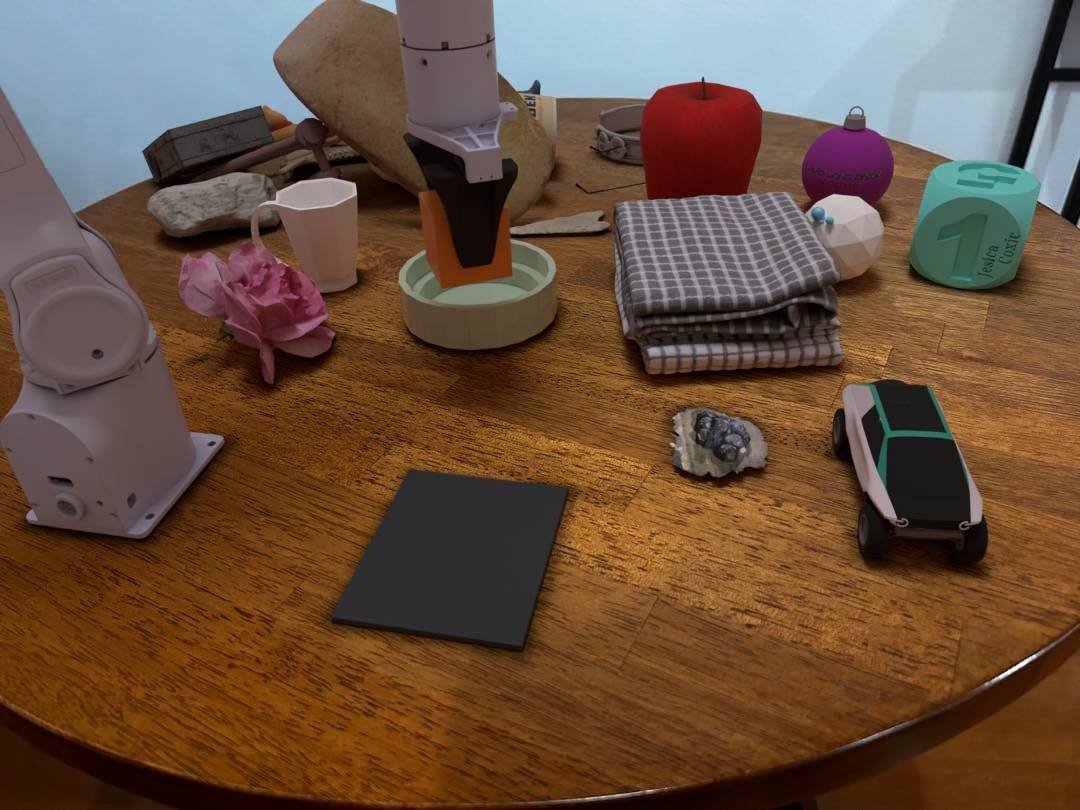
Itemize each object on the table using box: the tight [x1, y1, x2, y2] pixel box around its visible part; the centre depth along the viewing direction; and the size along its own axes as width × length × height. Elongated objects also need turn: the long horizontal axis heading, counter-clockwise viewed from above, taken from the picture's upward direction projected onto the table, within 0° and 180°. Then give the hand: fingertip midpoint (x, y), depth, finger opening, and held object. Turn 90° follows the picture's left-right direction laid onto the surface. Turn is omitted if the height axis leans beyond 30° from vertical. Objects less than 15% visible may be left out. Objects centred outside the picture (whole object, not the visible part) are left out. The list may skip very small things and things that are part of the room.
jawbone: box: [276, 145, 363, 181], centre depth 100 cm, size 9×20×2 cm, turn 118°
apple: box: [639, 76, 763, 200], centre depth 79 cm, size 10×10×14 cm
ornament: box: [804, 194, 885, 282], centre depth 71 cm, size 7×7×8 cm
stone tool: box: [510, 209, 612, 236], centre depth 83 cm, size 5×1×10 cm
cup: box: [250, 178, 359, 294], centre depth 74 cm, size 7×10×8 cm
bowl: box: [397, 238, 559, 351], centre depth 69 cm, size 12×12×4 cm
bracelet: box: [594, 103, 647, 164], centre depth 100 cm, size 14×14×3 cm
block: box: [418, 190, 513, 289], centre depth 60 cm, size 5×5×5 cm
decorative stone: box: [146, 171, 282, 238], centre depth 85 cm, size 12×11×5 cm
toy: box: [261, 104, 344, 151], centre depth 104 cm, size 3×17×5 cm, turn 91°
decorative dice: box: [908, 159, 1042, 290], centre depth 71 cm, size 8×8×8 cm
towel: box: [612, 190, 845, 375], centre depth 66 cm, size 15×18×8 cm
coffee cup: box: [518, 93, 558, 172], centre depth 94 cm, size 9×9×12 cm
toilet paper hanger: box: [189, 117, 347, 184], centre depth 93 cm, size 22×8×14 cm
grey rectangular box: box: [141, 105, 274, 184], centre depth 93 cm, size 16×4×10 cm
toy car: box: [831, 378, 989, 563], centre depth 49 cm, size 6×12×5 cm, turn 173°
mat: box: [330, 468, 569, 652], centre depth 48 cm, size 12×10×1 cm
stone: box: [272, 0, 552, 225], centre depth 85 cm, size 30×15×6 cm
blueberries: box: [669, 406, 769, 478], centre depth 55 cm, size 7×8×2 cm
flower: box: [178, 241, 336, 385], centre depth 65 cm, size 11×10×10 cm
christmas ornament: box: [801, 105, 895, 207], centre depth 81 cm, size 8×8×10 cm
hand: (466, 248), depth 60 cm, fingers closed on block, 5 cm apart
